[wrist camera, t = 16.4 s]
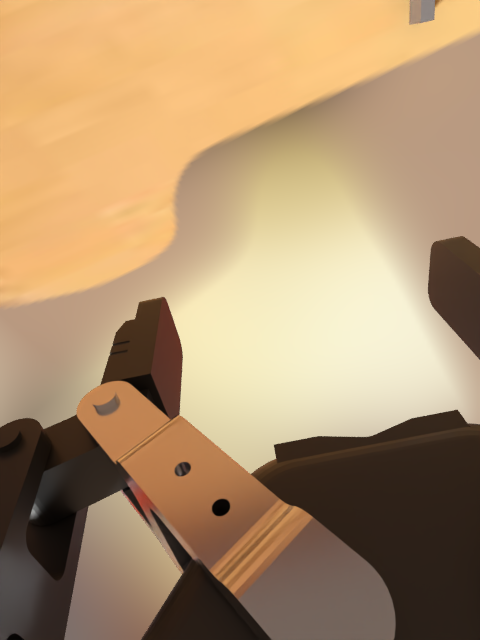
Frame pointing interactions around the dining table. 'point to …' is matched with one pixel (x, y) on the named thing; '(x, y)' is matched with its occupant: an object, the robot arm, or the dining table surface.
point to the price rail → (421, 11)
